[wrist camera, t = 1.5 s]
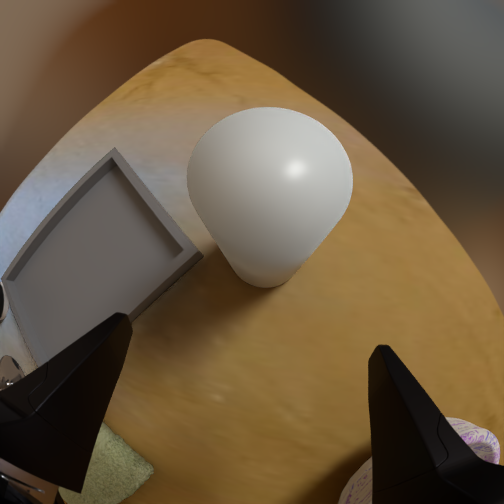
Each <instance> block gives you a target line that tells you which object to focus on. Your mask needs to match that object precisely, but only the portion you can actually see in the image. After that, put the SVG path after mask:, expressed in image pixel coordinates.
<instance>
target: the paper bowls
mask: <svg viewBox="0 0 504 504" xmlns="http://www.w3.org/2000/svg"><path fill="white" fill-rule="evenodd" d="M445 418H446V419H447V421H448V422H449V423H450V425H451V426H452V427H453V428H454V430H455V431H456V432H457V433H458V434H459V436H460V437H461V438H462V439H463V440H464V441H465V442H466V443H467V445H468V446H469V447H470V448H471V449H472V450H473V451H474V452H475V454H476V455H477V456H479V457H480V458H481V459H483V460H485V461H487V462H491V463H495V464H498V463H499V458H500V446H499V443H498V440H497V438H496V437H495V436H494V434H492V433H491V432H490V431H488V430H486V429H484V428H480V427H478V426H476V425H474V424H472V423H470V422H467V421H464V420H461V419H458V418H449V417H445ZM338 504H372V457H371V458H370V459H368V460H367V461H366V462H365V463H364V464H363V465H362V466H361V467H360V468H359V469H358V471H357V472H356V473H355V474H354V475H353V476H352V477H351V478H350V480H349V481H348V483H347V485H346V486H345V488H344V489H343V491H342V493H341V496H340V499H339V502H338Z"/></svg>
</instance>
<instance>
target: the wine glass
mask: <svg viewBox="0 0 504 504" xmlns="http://www.w3.org/2000/svg"><path fill="white" fill-rule="evenodd" d="M23 377H25V376H24V373H23V371H22V369H21V367H20V366H19V364H18V363H17V362H16V361H15V360H14V359H13V358H12V357H11V356H8V355H5V356H3V357H2V358H1V360H0V389H2V390H3V389H5V388H7V387H8V386H10V385H12V384H13V383H15V382H17V381H18V380H20V379H22V378H23Z"/></svg>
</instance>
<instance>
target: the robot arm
mask: <svg viewBox="0 0 504 504" xmlns="http://www.w3.org/2000/svg"><path fill="white" fill-rule="evenodd" d="M132 332H133V330H132V326H131V323H130V320H129V317H128V315H127V314H126V313H121V312H116V313H114V314H113V315H111V316H110V317H108V318H107V319H106V320H104V321H103V322H101V323H100V324H98V325H97V326H96V327H94V328H93V329H91V330H90V331H88V332H87V333H86V334H84V335H83V336H81V337H80V338H79V339H77V340H76V341H74V342H73V343H72V344H70V345H69V346H67V347H66V348H65V349H63V350H62V351H61V352H59V353H58V354H56V355H55V356H54V357H52V358H51V359H50V360H49V361H47V362H45V363H44V364H43V365H41V366H40V367H39V368H37V369H36V370H34V371H33V372H31V373H30V374H28V375H27V376H25V377H23V378H22V379H20V380H18V381H17V382H15V383H13V384H12V385H10V386H8V387H7V388H5V389H3V390H1V391H0V504H65V503H64V501H63V499H62V497H61V495H60V493H59V491H58V490H59V487H62V488H65V489H68V490H70V491H73V492H76V493H79V494H81V492H82V489H83V485H84V481H85V477H86V474H87V470H88V467H89V463H90V460H91V456H92V453H93V449H94V446H95V443H96V440H97V437H98V434H99V431H100V428H101V425H102V422H103V419H104V416H105V413H106V410H107V408H108V405H109V402H110V399H111V397H112V394H113V391H114V389H115V386H116V383H117V381H118V378H119V376H120V373H121V370H122V368H123V364H124V361H125V357H126V354H127V350H128V347H129V343H130V340H131V337H132ZM368 402H369V414H370V428H371V446H372V504H504V466H502V465H499V464H495V463H491V462H487V461H485V460H483V459H481V458H480V457H479V456H477V455H476V454H475V452H474V451H473V450H472V449H471V448H470V447H469V446H468V445H467V443H466V442H465V441H464V440H463V439H462V438H461V437H460V436H459V434H458V433H457V432H456V431H455V430H454V428H453V427H452V426H451V425H450V423H449V422H448V421H447V419H446V418H445V417H444V415H443V414H442V413H440V410H439V409H438V407H437V406H436V405H435V403H434V402H433V401H432V399H431V398H430V397H429V395H428V394H427V393H426V391H425V390H424V389H423V388H422V386H421V385H420V384H419V382H418V381H417V380H416V379H415V377H414V376H413V375H412V373H411V372H410V371H409V370H408V368H407V367H406V366H405V365H404V363H403V362H402V361H401V360H400V358H399V357H398V356H397V355H396V353H395V352H394V351H393V350H392V349H391V347H390V346H389V345H378V346H377V347H376V348H375V350H374V351H373V353H372V355H371V356H370V358H369V361H368Z"/></svg>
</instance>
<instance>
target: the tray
mask: <svg viewBox="0 0 504 504" xmlns="http://www.w3.org/2000/svg"><path fill="white" fill-rule="evenodd" d="M202 257H203V255H202V253H201V252H200V251H199V250H198V249H197V248H196V246H195V245H194V244H193V243H192V242H191V241H190V239H189V238H188V237H187V236H186V235H185V233H184V232H183V231H182V230H181V229H180V227H179V226H178V225H177V224H176V223H175V221H174V220H173V219H172V218H171V217H170V215H169V214H168V213H167V212H166V211H165V209H164V208H163V207H162V206H161V204H160V203H159V202H158V201H157V200H156V198H155V197H154V196H153V195H152V193H151V192H150V191H149V190H148V188H147V187H146V186H145V185H144V183H143V182H142V181H141V180H140V178H139V177H138V176H137V175H136V173H135V172H134V171H133V169H132V168H131V167H130V166H129V164H128V163H127V162H126V160H125V159H124V158H123V157H122V155H121V154H120V153H119V152H118V150H117V149H116V148H115V147H114V148H113V149H112V150H111V151H110V152H109V153H108V154H106V155H105V156H104V157H103V158H102V159H101V160H100V161H99V162H98V163H97V164H96V165H94V166H93V167H92V168H91V169H90V170H89V171H88V172H87V173H86V174H85V175H84V176H83V177H82V178H81V179H80V180H79V181H78V182H77V183H76V184H75V185H74V186H73V187H72V188H71V189H70V190H69V191H68V193H67V194H66V195H65V196H64V197H63V198H62V199H61V200H60V201H59V202H58V203H57V205H56V206H55V207H54V208H53V209H52V210H51V211H50V213H49V214H48V215H47V216H46V217H45V219H44V220H43V221H42V222H41V223H40V225H39V226H38V227H37V228H36V230H35V231H34V232H33V233H32V235H31V236H30V237H29V239H28V240H27V241H26V243H25V244H24V245H23V247H22V248H21V250H20V251H19V252H18V254H17V255H16V257H15V258H14V260H13V261H12V262H11V264H10V265H9V267H8V268H7V270H6V272H5V273H4V275H3V276H2V278H1V280H2V283H3V286H4V289H5V292H6V295H7V298H8V301H9V304H10V306H11V309H12V312H13V314H14V317H15V319H16V322H17V324H18V326H19V329H20V331H21V333H22V335H23V338H24V340H25V342H26V344H27V346H28V348H29V350H30V352H31V354H32V356H33V358H34V360H35V362H36V364H37V366H38V367H40V366H41V365H43V364H44V363H45V362H47V361H49V360H50V359H51V358H52V357H54V356H55V355H56V354H58V353H59V352H61V351H62V350H63V349H65V348H66V347H67V346H69V345H70V344H72V343H73V342H74V341H76V340H77V339H79V338H80V337H81V336H83V335H84V334H86V333H87V332H88V331H90V330H91V329H93V328H94V327H96V326H97V325H98V324H100V323H101V322H103V321H104V320H106V319H107V318H108V317H110V316H111V315H113V314H114V313H116V312H121V313H126V314H127V315H128V317H129V320H130V323H131V322H132V321H133V320H134V319H135V318H136V317H137V316H138V315H140V314H141V313H142V312H143V311H144V310H145V309H146V308H147V307H148V306H149V305H150V304H151V303H152V302H154V301H155V300H156V299H157V298H158V297H159V296H160V295H161V294H162V293H163V292H164V291H166V290H167V289H168V288H169V287H170V286H171V285H172V284H173V283H174V282H175V281H177V280H178V279H179V278H180V277H181V276H182V275H183V274H184V273H185V272H187V271H188V270H189V269H190V268H191V267H192V266H193V265H194V264H196V263H197V262H198V261H199V260H200V259H201V258H202Z"/></svg>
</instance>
